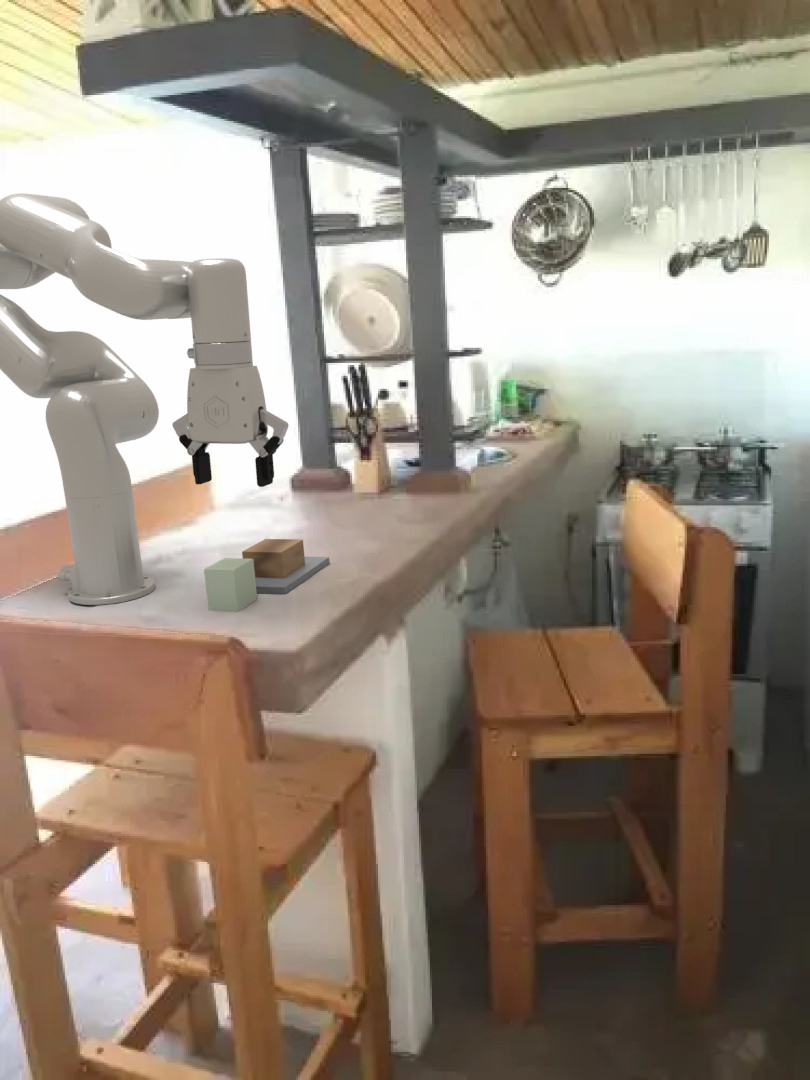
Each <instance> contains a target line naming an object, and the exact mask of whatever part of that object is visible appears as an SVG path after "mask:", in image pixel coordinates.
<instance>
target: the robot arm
mask: <svg viewBox="0 0 810 1080" xmlns="http://www.w3.org/2000/svg"><path fill="white" fill-rule="evenodd" d="M55 273H57V274H58V275H61V276H63V277H65V278H67V279H70V280H71V281H72V284H73V285H74V286H75V288H76V289H77V290H78V291H79V292H80V294H81V295H82V296H83V297H84V298H86V299H87V300H89V301H91V302H93V303H95V304H97V305H99V306H101V307H104V308H105V309H108V310H110V311H112V312H114V313H116V314H119V315H121V316H124V317H127V318H130V319H134V320H139V321H141V320H142V321H149V320H151V321H152V320H165V319H166V320H167V319H168V320H174V319H175V320H177V319H178V320H180V319H188V318H190V320H191V330H192V332H191V333H192V342H193V343H192V347H191V348H190V347H189V348H188V349H187V350H186V355H187V358H188V359H193V362H194V364H195V365H194V367H192V368H189V373H188V374H189V375H188V381H187V395H186V397H187V398H186V405H187V406H186V409H187V411H186V412H187V413H186V414H183V416H181V417H179V418H178V419H176V420H175V421H173V422H172V428H173V430H174V432H175V433H176V436H177V437H178V440H179V443H180V444H181V445H182V446H183V447H184V448H185V449H186V452H187V454H188V456H191V463H192V472H193V476H194V483H195V485H203V484H206V483H209V482H211V481H212V478H213V476H212V466H211V455H210V452H208V451H207V449H208V447H209V446H210V444H222V445H223V444H225V445H228V444H230V445H239V444H240V445H241V444H242V445H243V444H248V443H249V444H250V446H251V447H252V448H253V449H254V451H255V452H256V453H257V454H258V456H257V457H255V460H254V461H255V462H254V463H255V475H256V476H255V477H256V485H257V486H258V487H259V488H264V487H266V486H268V485H271V484H273V482H274V477H275V468H274V467H275V466H274V454H276V452H277V450H278V449H279V448H280V446H281V445H282V444H283V443H284V438H285V437H286V434H287V431H288V428H289V423H288V422H287V421H285V420H284V419H282V418H280V417H279V416H277V415H276V414H274V413H271V412H270V411H268V410H267V405H266V398H265V392H264V387H263V383H262V378H261V376H260V372H259V369H258V366H257V365H254V362H253V350H252V334H251V323H250V322H251V321H250V309H249V296H248V295H249V294H248V284H247V283H248V281H247V271H246V268H245V265H244V264H243V262H241V260H238V259H234V258H205V259H204V258H202V259H197V260H194V261H186V260H185V261H183V260H169V259H152V258H151V259H149V258H147V259H141V258H137V257H132V256H130V255H128V254H125V253H123V252H120V251H118V250H116V249H113V248H112V240H111V238H110V235H109V232H108V231H107V230H106V228H105V227H104V226H103V225H101V224H100V223H99V222H96V221H94V220H92V219H90V217H89V215H88V213H87V212H86V210H84V208H83V207H82V206H81V205H79V204H78V203H77V202H74V201H72V200H71V199H68V198H65V197H58V196H52V195H51V196H48V195H41V194H32V193H22V192H21V193H14V194H10V195H6V196H5V197H3V198H1V199H0V290H21V289H26V288H29V287H33V286H35V285H37V284H39V283H40V282H43V281H44V280H45V279H48V277H50V276H53V274H55ZM0 370H1V372H2V373H3V374H4V375H6V376H7V378H8V379H10V381H11V382H12V383H13V384H15V386H16V387H17V388H18V389H19V390H20V391H21V392H23V393H24V394H25V395H27V396H29V397H31V398H36V399H49V400H48V402H47V405H46V407H45V422H46V427H47V430H48V434H49V437H50V439H51V442H52V445H53V448H54V450H55V451H54V452H55V453H56V457H57V461H58V464H59V469H60V474H61V475H60V476H61V481H62V487H63V493H64V494H63V495H64V499H65V504H66V513H67V518H68V526H69V533H70V539H71V548H72V554H73V560H74V564H73V565H70V564H69V565H68V564H64V565H62V566H61V567H60V569H59V570H60V571H59V572H58V573H57V576H56V577H57V580H58V581H61V582H62V581H63V582H64V581H67V582H68V581H70V583H71V588H70V589H69V590H68V592H67V595H68V600H69V601H70V602H72V603H74V604H76V605H77V604H78V605H83V606H105V605H112V604H118V603H124V602H130V601H132V600H136V599H139V598H142V597H145V596H147V595H149V594H151V593H152V592H153V591H154V590H155V588H156V583H155V582H156V581H155V580H154V579H153V578H152V577H150V576H148V575H144V572H143V563H142V556H141V548H140V541H139V540H140V539H139V532H138V525H137V516H136V509H135V502H134V501H135V500H134V494H133V493H134V492H133V487H132V486H133V485H132V479H131V475H130V471H129V468H128V465H127V463H126V461H125V460H124V458H123V456H122V454H121V453H120V451H119V449H118V447H117V444H122V443H127V442H130V441H135V440H139V439H141V438H143V437H146V436H148V435H150V433H151V432H152V431H153V430H154V429H155V427H156V426H157V423H158V421H159V415H160V413H159V412H160V411H159V404H158V402H157V401H158V400H157V399H156V396H155V394H154V393H153V391H152V390H151V388H150V386H149V385H148V384H147V383H146V382H145V381H144V380H143V378H141V377H140V376H139V374H137V373H136V372H135V371H134V370H133V369H132V368H131V367H130V366H129V365H128V364H127V363H126V362H125V361H124V360H123V358H121V357H120V355H118V354H117V353H116V352H115V351H114V350H113V349H112V348H111V347H110V346H109V345H108V344H106V343H105V342H104V341H103V340H102V339H101V338H99V337H97V336H94V335H93V334H91V333H88V332H83V331H79V330H78V331H76V330H73V331H72V330H71V331H70V330H69V331H68V330H66V331H52V330H48V329H46V328H44V327H43V326H41V325H40V324H39V323H37V322H36V320H34V319H33V318H32V317H31V316H30V315H29V314H28V312H26V311H25V309H23V308H22V307H21V306H20V305H19V304H18V303H16V302H14V300H11V299H10V298H8V297H6V296H4V295H2V294H0ZM269 427H271V428H272V430H273V432H272V436H271V437H270V438H269V437H268V432H269V431H268V430H269Z"/></svg>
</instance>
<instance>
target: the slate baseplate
mask: <svg viewBox="0 0 810 1080" xmlns="http://www.w3.org/2000/svg"><path fill="white" fill-rule="evenodd" d="M304 557H305V565H303V566H302V567H300V568H299V569H297V570H296V571H294V572H293V573H291V574H290V575H288V576H286V577H285V578H257V577H255V581H256V591H257V594H271V595H275V594H276V595H286V594H288V593H289V592H291V591H292V590H293V589H295V588H296V587H298V586H299V585H301V584H302V583H303V582H305V581H306V580H308V579H309V578H310V577H312V576H313V575H315V574H316V573H318V572H319V571H321V570H322V569H323V568H325V567H327V566H328V565H329V564H330V557H329V556H304Z"/></svg>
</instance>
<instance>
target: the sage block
mask: <svg viewBox="0 0 810 1080" xmlns="http://www.w3.org/2000/svg"><path fill="white" fill-rule="evenodd" d="M203 571H204V572H203V573H204V580H205V582H204V583H205V590H206V597H207V598H206V601H207V607H208V611H213V612H232V613H233V612H234V613H235V612H236V613H238V612H239V611H241V610H242V609H244V608H246V607H247V606H249V605H250V604H252V603H253V602H255V601H256V600H258V593H257V591H256V581H255V570H254V560H253V559H243V557H241V558H240V557H239V558H237V557H224V558H222V559H221V560H218V561H217V562H214V563H213V564H212V565H210V566H207V567H205V568H204V569H203Z"/></svg>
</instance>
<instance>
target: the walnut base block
mask: <svg viewBox="0 0 810 1080" xmlns="http://www.w3.org/2000/svg"><path fill="white" fill-rule="evenodd" d="M241 554H242V559H253V560H254V570H255V577H257V578H285V577H286V576H288V575H290V574H291V573H293V572H294V571H296V570H297V569H299V568H300V567H302V566H303V565H305V557H306V556H305V548H304V539H298V538H297V539H293V538H292V539H290V538H287V539H286V538H285V539H284V538H264V539H262V540H261V541H259V542H257V543H255V544H253V545H252V546H249V547H248V548H246V549H244V550H242V551H241Z"/></svg>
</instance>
